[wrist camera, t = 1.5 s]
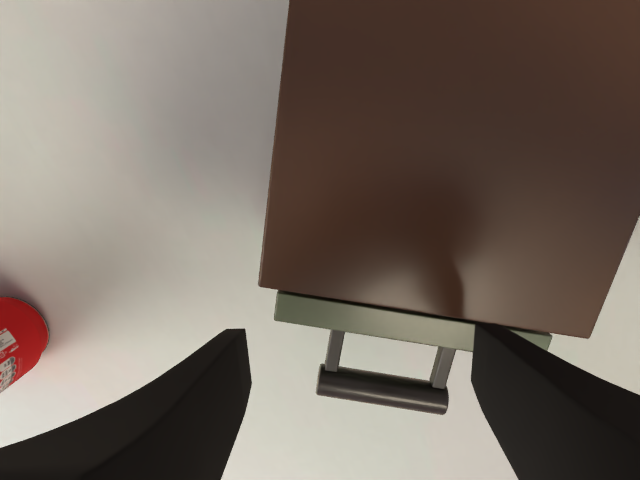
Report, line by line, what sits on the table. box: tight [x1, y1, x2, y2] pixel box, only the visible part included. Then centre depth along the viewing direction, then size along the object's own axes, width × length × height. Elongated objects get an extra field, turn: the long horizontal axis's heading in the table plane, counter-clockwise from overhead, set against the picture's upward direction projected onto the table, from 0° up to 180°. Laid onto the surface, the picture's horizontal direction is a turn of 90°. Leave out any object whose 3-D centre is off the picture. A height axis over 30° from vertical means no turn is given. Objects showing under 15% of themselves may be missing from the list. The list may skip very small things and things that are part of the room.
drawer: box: [274, 290, 552, 415], centre depth 16 cm, size 17×10×6 cm, turn 171°
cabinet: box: [258, 0, 640, 339], centre depth 15 cm, size 14×12×8 cm
